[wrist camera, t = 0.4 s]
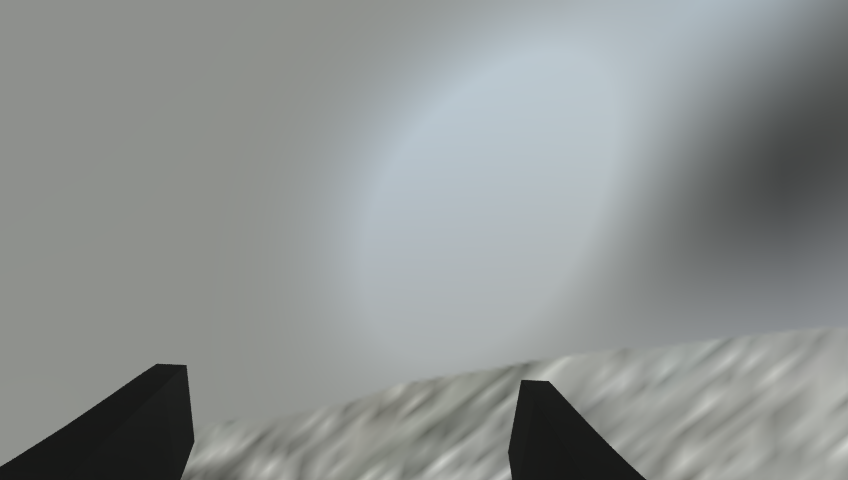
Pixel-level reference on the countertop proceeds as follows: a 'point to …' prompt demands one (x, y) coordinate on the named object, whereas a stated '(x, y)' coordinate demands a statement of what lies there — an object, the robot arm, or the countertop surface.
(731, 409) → the countertop surface
